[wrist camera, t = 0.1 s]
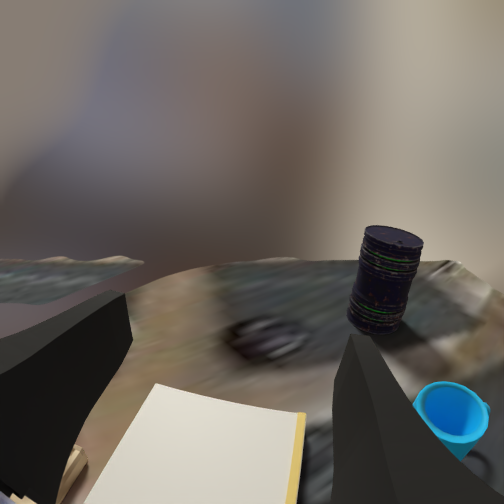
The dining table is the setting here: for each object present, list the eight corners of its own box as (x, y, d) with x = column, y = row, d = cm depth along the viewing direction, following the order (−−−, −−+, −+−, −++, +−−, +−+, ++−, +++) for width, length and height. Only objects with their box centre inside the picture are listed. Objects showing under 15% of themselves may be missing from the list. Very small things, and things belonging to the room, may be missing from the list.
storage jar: (342, 301, 56) (359, 221, 51) (392, 306, 55) (412, 230, 50) (349, 332, 47) (371, 241, 41) (405, 336, 46) (433, 251, 40)
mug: (400, 499, 20) (441, 455, 17) (374, 440, 28) (402, 389, 25) (482, 462, 22) (522, 415, 19) (453, 417, 29) (483, 368, 26)
